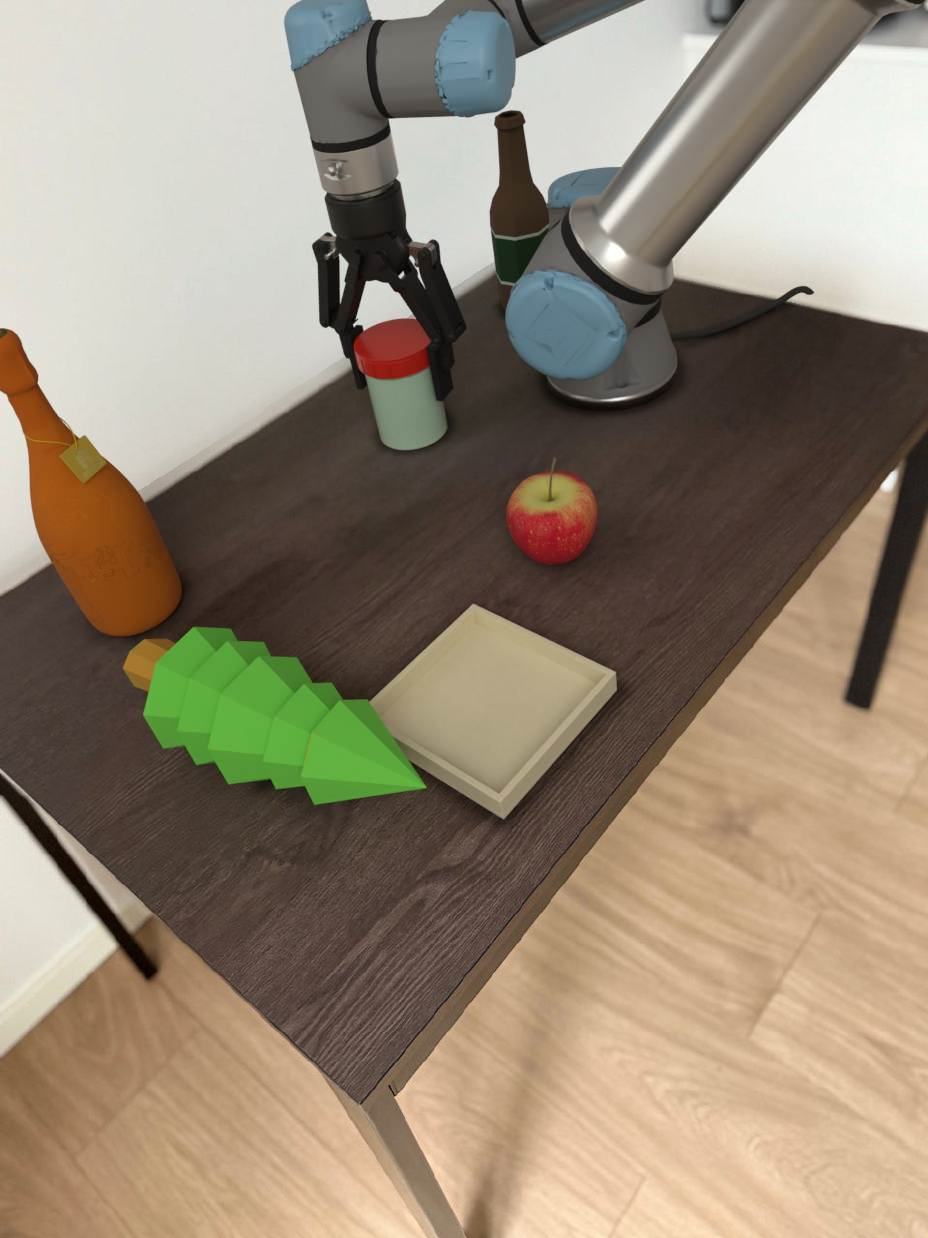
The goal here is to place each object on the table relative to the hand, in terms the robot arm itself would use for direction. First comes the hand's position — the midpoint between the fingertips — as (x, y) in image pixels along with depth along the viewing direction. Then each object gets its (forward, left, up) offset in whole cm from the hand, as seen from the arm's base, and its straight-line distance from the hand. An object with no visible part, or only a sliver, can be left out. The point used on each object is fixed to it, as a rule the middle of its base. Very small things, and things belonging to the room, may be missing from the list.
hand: (404, 388), depth 107 cm
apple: (+9, +27, -6) cm, 29 cm away
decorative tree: (+42, +24, -6) cm, 48 cm away
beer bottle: (-30, -6, -6) cm, 31 cm away
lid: (0, 0, +6) cm, 6 cm away
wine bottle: (+37, -4, -6) cm, 38 cm away
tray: (+28, +34, -6) cm, 44 cm away
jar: (0, 0, -6) cm, 6 cm away
